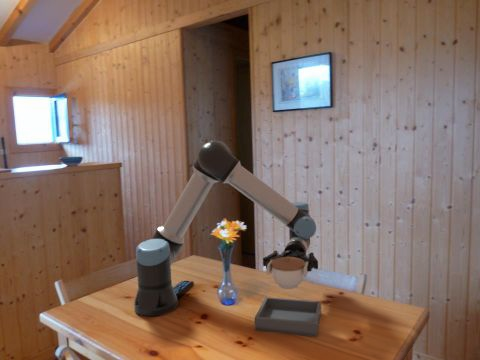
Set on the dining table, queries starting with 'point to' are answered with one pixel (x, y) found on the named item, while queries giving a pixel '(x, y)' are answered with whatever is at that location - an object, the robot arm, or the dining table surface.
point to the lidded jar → (288, 271)
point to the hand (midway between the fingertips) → (286, 271)
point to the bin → (289, 316)
